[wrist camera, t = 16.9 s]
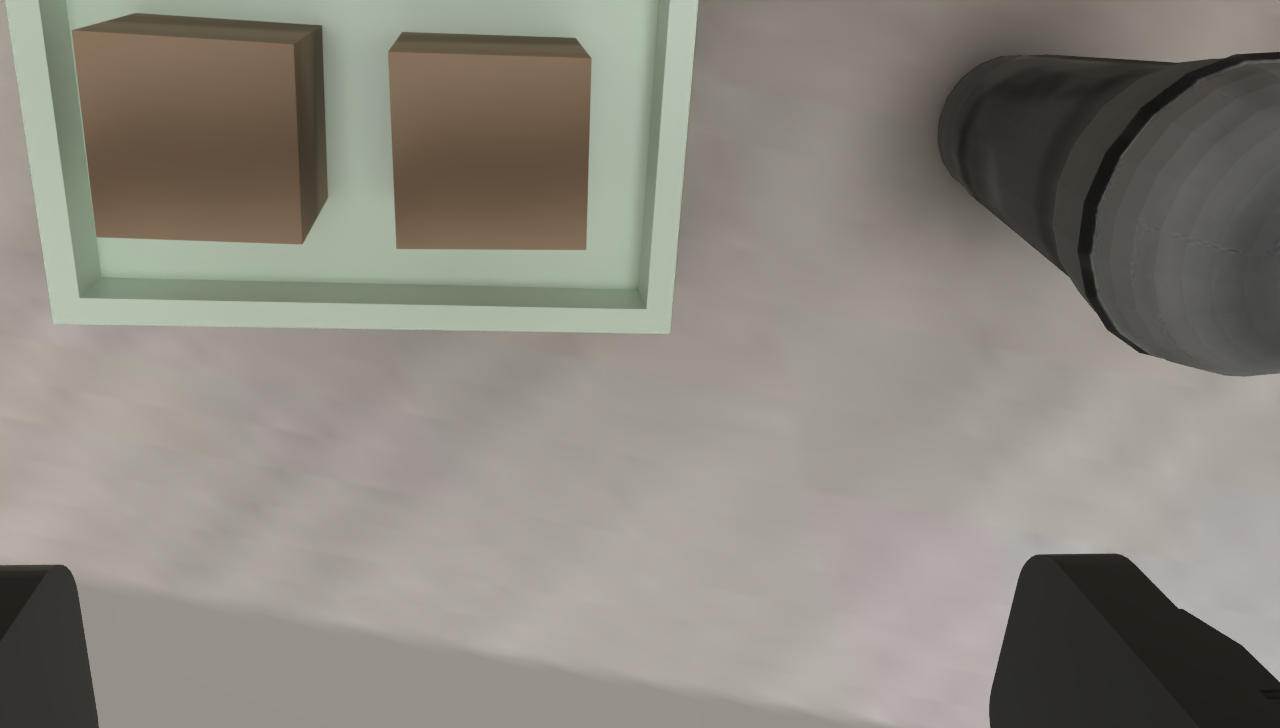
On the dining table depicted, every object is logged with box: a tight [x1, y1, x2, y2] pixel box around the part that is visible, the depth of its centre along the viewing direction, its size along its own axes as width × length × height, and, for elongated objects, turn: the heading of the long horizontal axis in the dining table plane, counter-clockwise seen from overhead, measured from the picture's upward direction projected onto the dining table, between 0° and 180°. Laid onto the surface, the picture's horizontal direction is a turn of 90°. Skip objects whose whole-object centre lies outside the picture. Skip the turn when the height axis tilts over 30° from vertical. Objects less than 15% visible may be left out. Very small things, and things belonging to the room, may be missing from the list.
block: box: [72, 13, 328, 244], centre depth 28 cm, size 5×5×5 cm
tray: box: [5, 0, 698, 334], centre depth 31 cm, size 12×18×2 cm, turn 86°
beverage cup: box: [938, 52, 1280, 376], centre depth 26 cm, size 7×7×20 cm
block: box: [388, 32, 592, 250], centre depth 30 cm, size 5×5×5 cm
